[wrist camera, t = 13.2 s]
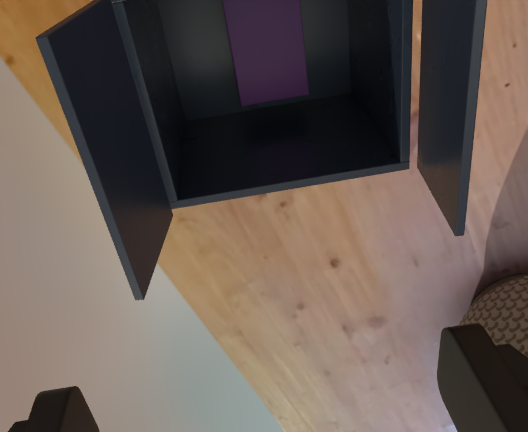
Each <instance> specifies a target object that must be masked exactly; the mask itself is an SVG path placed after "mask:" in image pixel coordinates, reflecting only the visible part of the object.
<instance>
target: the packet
mask: <svg viewBox="0 0 528 432" xmlns="http://www.w3.org/2000/svg"><path fill="white" fill-rule="evenodd" d="M222 3H223V9H224V14H225V20H226V26H227V31H228V37H229V42H230V48H231V53H232V59H233V64H234V70H235V75H236V81H237V86H238V92H239V97H240V103H241V106H246V105H252V104H258V103H264V102H269V101H275V100H281V99H286V98H292V97H298V96H303V95H309V85H308V75H307V65H306V55H305V45H304V35H303V25H302V15H301V5H300V0H222Z"/></svg>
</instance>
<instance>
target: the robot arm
mask: <svg viewBox="0 0 528 432" xmlns="http://www.w3.org/2000/svg"><path fill="white" fill-rule="evenodd" d="M437 380H438V386H439V390H440V394H441V397H442V399H443V402H444V404H445V406H446V408H447V410H448V412H449V414H450V417H451V419H452V421H453V423H454V425H455V427H456V429H457V431H458V432H528V357H526V356H525V355H524V354H522V353H521V352H520V351H518V350H517V349H516V348H514V347H513V346H512V345H511V344H509V343H508V344H502V345H495V344H494V342H493V341H492V339H491V338H490V336H489V335H488V333H487V331H486V330H485V329H484V327H483V326H482V325H481V324H479V323H472V324H466V325H460V326H454V327H447V328H444V329H443V330H442V333H441V341H440V350H439V359H438V369H437ZM8 432H99V428H98V426H97V424H96V422H95V420H94V418H93V415H92V413H91V411H90V409H89V407H88V405H87V403H86V401H85V399H84V397H83V395H82V392H81V391H80V389H79V388H78V387H76V386H73V387H67V388H61V389H54V390H48V391H42V392H40V393H39V394H38V395H37V397H36V399H35V401H34V404H33V407H32V410H31V413H30V416H29V419H28V420H25V421H20V422H15V423H14V424H13V426H12V427H11V428H10V430H9V431H8Z"/></svg>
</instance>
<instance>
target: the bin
mask: <svg viewBox="0 0 528 432" xmlns="http://www.w3.org/2000/svg"><path fill="white" fill-rule="evenodd" d="M111 2H112V6H113V9H114V13H115V16H116V20H117V23H118V27H119V30H120V33H121V37H122V40H123V44H124V47H125V51H126V54H127V58H128V61H129V65H130V68H131V72H132V75H133V78H134V82H135V85H136V89H137V92H138V96H139V99H140V103H141V106H142V110H143V113H144V117H145V120H146V123H147V127H148V130H149V134H150V137H151V141H152V144H153V148H154V151H155V155H156V158H157V161H158V165H159V168H160V172H161V175H162V179H163V182H164V186H165V189H166V193H167V196H168V200H169V203H170V206H171V209H176V208H182V207H188V206H194V205H200V204H206V203H212V202H218V201H224V200H229V199H235V198H241V197H247V196H253V195H259V194H265V193H271V192H277V191H282V190H288V189H294V188H300V187H306V186H312V185H318V184H324V183H330V182H336V181H341V180H347V179H353V178H359V177H365V176H371V175H377V174H383V173H389V172H394V171H400V170H406V169H409V156H410V111H411V66H412V22H413V0H300V5H301V15H302V25H303V35H304V45H305V55H306V65H307V75H308V85H309V95H303V96H298V97H292V98H286V99H281V100H275V101H269V102H264V103H258V104H252V105H246V106H241V103H240V97H239V92H238V86H237V81H236V75H235V70H234V64H233V59H232V53H231V48H230V42H229V37H228V31H227V26H226V20H225V14H224V9H223V3H222V0H111ZM486 8H487V0H423V1H422V32H421V63H420V94H419V125H418V156H417V167H418V169H419V171H420V173H421V175H422V177H423V178H424V180H425V182H426V184H427V186H428V188H429V189H430V191H431V193H432V195H433V197H434V198H435V200H436V202H437V204H438V206H439V208H440V209H441V211H442V213H443V215H444V217H445V219H446V220H447V222H448V224H449V226H450V228H451V229H452V231H453V233H454V235H455V236H462V235H464V230H465V220H466V210H467V200H468V190H469V180H470V170H471V160H472V150H473V139H474V129H475V119H476V109H477V99H478V89H479V79H480V69H481V59H482V49H483V38H484V28H485V18H486Z"/></svg>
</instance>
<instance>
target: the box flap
mask: <svg viewBox="0 0 528 432" xmlns="http://www.w3.org/2000/svg"><path fill="white" fill-rule="evenodd" d="M36 41H37V43H38V46H39V49H40V51H41V54H42V57H43V59H44V62H45V64H46V67H47V70H48V72H49V75H50V78H51V80H52V83H53V85H54V88H55V91H56V93H57V96H58V98H59V101H60V104H61V106H62V109H63V112H64V114H65V117H66V119H67V122H68V125H69V127H70V130H71V133H72V135H73V138H74V140H75V143H76V146H77V148H78V151H79V154H80V156H81V159H82V161H83V164H84V167H85V169H86V172H87V174H88V177H89V180H90V182H91V185H92V188H93V190H94V193H95V195H96V198H97V201H98V203H99V206H100V209H101V211H102V214H103V216H104V219H105V222H106V224H107V227H108V230H109V232H110V234H111V237H112V240H113V242H114V245H115V248H116V250H117V253H118V256H119V258H120V261H121V264H122V266H123V269H124V271H125V274H126V277H127V279H128V282H129V285H130V287H131V290H132V292H133V295H134V298H135V300H144V298H145V295H146V292H147V289H148V286H149V284H150V280H151V277H152V275H153V272H154V269H155V266H156V263H157V261H158V258H159V255H160V252H161V249H162V246H163V243H164V240H165V237H166V235H167V232H168V229H169V226H170V223H171V220H172V217H173V213H172V210H171V206H170V203H169V200H168V196H167V193H166V189H165V186H164V182H163V179H162V175H161V172H160V168H159V165H158V161H157V158H156V155H155V151H154V148H153V144H152V141H151V137H150V134H149V130H148V127H147V123H146V120H145V117H144V113H143V110H142V106H141V103H140V99H139V96H138V92H137V89H136V85H135V82H134V78H133V75H132V72H131V68H130V65H129V61H128V58H127V54H126V51H125V47H124V44H123V40H122V37H121V33H120V30H119V27H118V23H117V20H116V16H115V13H114V9H113V6H112V2H111V0H94V1H92V2H90V3H89V4H87V5H86V6H84V7H83V8H81V9H79V10H78V11H76V12H75V13H73V14H72V15H70V16H68V17H67V18H65V19H64V20H62V21H61V22H59V23H57V24H56V25H54V26H53V27H51V28H50V29H48V30H46V31H45V32H43V33H42V34H40V35H39V36H37V37H36Z"/></svg>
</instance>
